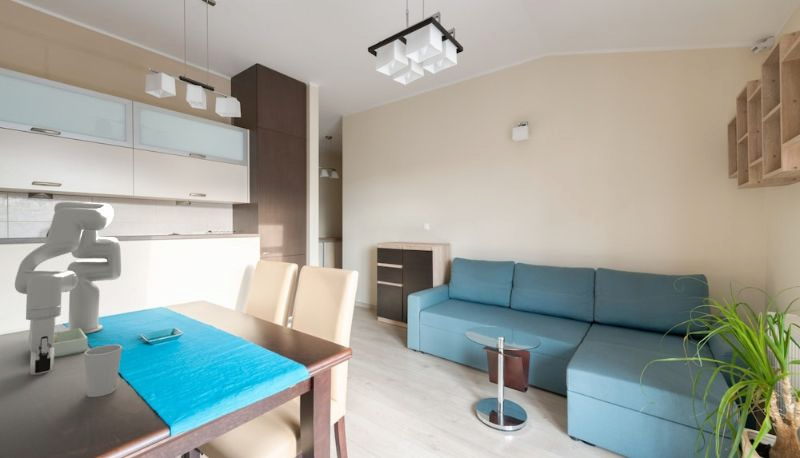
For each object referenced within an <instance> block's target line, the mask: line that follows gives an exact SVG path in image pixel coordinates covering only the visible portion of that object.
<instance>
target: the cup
mask: <svg viewBox="0 0 800 458" xmlns="http://www.w3.org/2000/svg"><path fill="white" fill-rule="evenodd" d="M122 351H123V346H122V345H121V344H106V345H102V346H101V345H99V346H96V347H93V348H89V349H87V351H86V352H83V353H84V354H83V355H84V363H85V366H84V367H85V377H86V396H87V397H89V398H98V397H103V396H105V395H109V394H111V393H114V392H115V391H117V389H118V377H119V369H120V361H121V357H122Z"/></svg>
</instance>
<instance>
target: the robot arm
mask: <svg viewBox="0 0 800 458" xmlns="http://www.w3.org/2000/svg"><path fill="white" fill-rule="evenodd" d="M53 208H54V209H53V210H54V214H53V216H52V221H51V223H50V227H49V231H48V235H47V238H46V242H45V243H44V244H42V245H39V247H37V248H35V249H34V250H32V251H31V252H29V253H28V254H27V255H26V256H25V257H24V258H23V259H22V260H21V262H20V264H19V265H18V270H17V273H16V276H15V280H14V289H15V290H16V292H17V293H19V294H23V295H26V302H25V303H26V305H25V307H26V308H25V320H26V321H27V320H28V321H30V322H29V336H28V337H29V338H28V339H29V340H28V349H29V352H30V353H31V352H33V351H35V350H37V360H35V373H40V372H44V371H49V370H50V361H51V357H50V349H51V348H52V347H53V344H54V336H55V332H56V318H57V317H58V318H59V317H60V316H61V315H62V293H67V292H69V300H68V326H67V327H68V328H65V329H64V330H63V331H66V330H72V329H79V328H81V330H82V331H83V332H84V334H85V335H86V334H91V333H96V332H98V331H101V330H102V329H103V328H104V327H103V325H102V324H99V318H100V317H99V316H100V312H99V311H100V288H99V287H98V286H97V285H96V284H95V283H94V282H96V281H97V282H101V281H104V282H105V281H114V280H117V279H119V278H120V276H121V274H122V261H121V260H122V259H121V258H122V256H121V245H120V241H119V240H118V239H117V238H116V237H112V236H111V237H110V236H109V237H108V236H107V237H106V236H98V231H102V230H105V228H106V227H107V226H108V225H109V224H111V222H112V220H113V217H114V208H112V206H111V205H110V204H108V203H99V202H85V201H84V202H82V201H62V202H61V201H60V202H57V203H56V204H55V205H54V207H53ZM70 253H71V255H72V257H74V258H76V259H79V260H75V261H72V262H71V263H69V264H68V266H67V270H62V269H61V270H35V269H37V267H38V266H39V265H41V264H42V263H44V262H46V261H48V260H50V259H54V258H57V257H60V256H62V255H63V256H64V255H66V254H70ZM47 347H48V348H47ZM39 348H41V350H39ZM39 352H41V353H40V354H39Z"/></svg>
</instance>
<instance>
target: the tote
mask: <svg viewBox="0 0 800 458" xmlns="http://www.w3.org/2000/svg"><path fill="white" fill-rule="evenodd" d="M65 330H66V329H65ZM55 332H56V334H57V343H54V344H53V347H54V359H55V358H59V357H64V356H70V355H75V354H80V353H85V352H86V351H87V350H88V343H89V342H88V336H87V335H86V334H84V332H83V331H82V330H81V328H79V329H72V330H66V331H64V330H60V331H55Z"/></svg>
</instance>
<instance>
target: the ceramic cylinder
mask: <svg viewBox="0 0 800 458" xmlns="http://www.w3.org/2000/svg"><path fill="white" fill-rule="evenodd" d="M47 348H48V347H47ZM39 350H41V348H39ZM40 353H41V352H39V354H40ZM50 357H51V361H50V370H49V371H44V372H40V373H35V360H37V350H35V351H33V352H31V351H30V363H29V364H30V365H29V366H30V367H29V374H30V375H31V376H37V375H42V374H47V373H49V372H52V371H53V370H54V360H55V358H54V347H52V348H51V349H50Z"/></svg>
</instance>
